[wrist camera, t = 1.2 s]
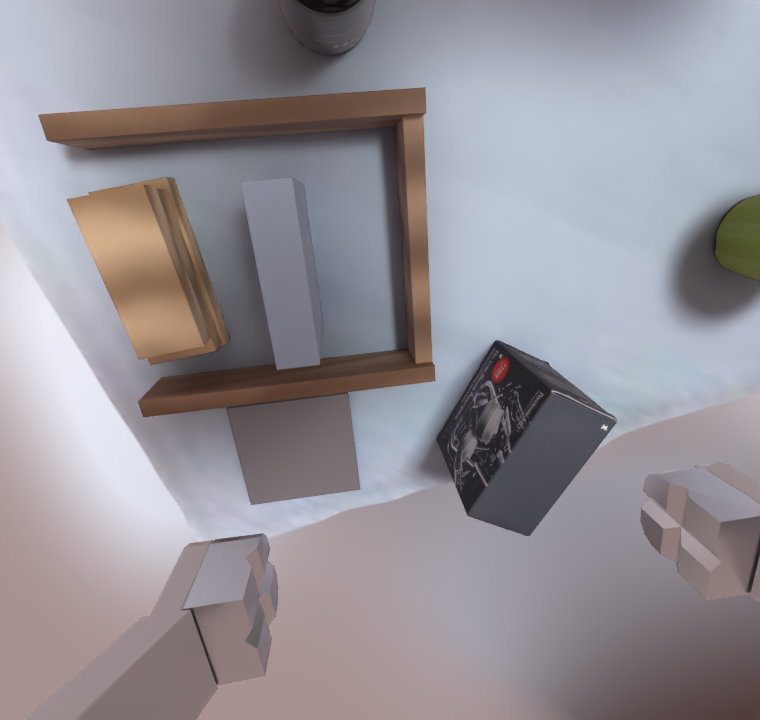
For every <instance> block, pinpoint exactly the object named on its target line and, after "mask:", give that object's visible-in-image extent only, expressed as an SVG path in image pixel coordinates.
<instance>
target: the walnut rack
mask: <svg viewBox="0 0 760 720" xmlns="http://www.w3.org/2000/svg"><path fill="white" fill-rule="evenodd" d="M425 113H426V96H425V88H411V89H397V90H383V91H368V92H354V93H340V94H326V95H311V96H297V97H283V98H269V99H254V100H240V101H226V102H212V103H197V104H183V105H169V106H155V107H140V108H126V109H112V110H98V111H83V112H69V113H55V114H41V115H38V116H39V119H40V122H41V124H42V127H43V130H44V133H45V136H46V139H47V141H50V142H55V143H60V144H65V145H69V146H74V147H79V148H83V149H88V150H93V149H106V148H119V147H132V146H145V145H158V144H171V143H184V142H197V141H210V140H223V139H236V138H249V137H262V136H275V135H288V134H301V133H314V132H327V131H340V130H353V129H366V128H379V127H392V126H395V137H396V153H397V170H398V187H399V203H400V220H401V236H402V253H403V270H404V286H405V303H406V320H407V336H408V349H401V350H393V351H384V352H376V353H367V354H359V355H350V356H342V357H333V358H325V359H320V365H314V366H305V367H297V368H288V369H280V370H277V368H276V364H274V365H265V366H257V367H248V368H240V369H231V370H222V371H214V372H205V373H197V374H188V375H180V376H171V377H163V378H161V379H160V380H159V381H158V382H157V383H156V384H155V385H154V386H153V387H152V388H151V389H150V390H149V391H148V392H147V393H146V394H145V395H144V396H143V397H142V398H141V399H140V400H139V401H138V403H139V406H140V409H141V412H142V414H143V417H149V416H157V415H166V414H174V413H182V412H190V411H198V410H206V409H214V408H222V407H230V406H238V405H246V404H254V403H262V402H270V401H279V400H287V399H295V398H303V397H311V396H319V395H327V394H335V393H343V392H351V391H359V390H367V389H375V388H383V387H392V386H400V385H408V384H416V383H424V382H432V381H435V365H434V364H433V362H432V343H431V316H430V289H429V262H428V235H427V207H426V180H425V153H424V126H423V115H424V114H425Z"/></svg>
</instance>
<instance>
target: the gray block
mask: <svg viewBox="0 0 760 720" xmlns="http://www.w3.org/2000/svg"><path fill="white" fill-rule="evenodd" d="M240 184H241V189H242V194H243V199H244V204H245V209H246V215H247V220H248V225H249V230H250V235H251V240H252V245H253V250H254V256H255V261H256V266H257V271H258V276H259V281H260V286H261V291H262V296H263V302H264V307H265V312H266V317H267V322H268V327H269V332H270V337H271V343H272V348H273V353H274V358H275V363H276V368H277V370H280V369H288V368H297V367H305V366H314V365H320V359H321V345H322V331H323V316H322V309H321V302H320V295H319V288H318V281H317V274H316V267H315V260H314V253H313V246H312V239H311V232H310V224H309V217H308V210H307V203H306V196H305V189H304V184H302V183H300V182H299V181H297V180H295V179H294V178H292V177H290V178H278V179H266V180H254V181H242V182H240Z"/></svg>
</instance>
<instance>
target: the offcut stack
mask: <svg viewBox="0 0 760 720" xmlns="http://www.w3.org/2000/svg"><path fill="white" fill-rule="evenodd" d="M67 201H68V204H69V206H70V208H71V210H72V212H73V215H74V217H75V219H76V221H77V224H78V226H79V228H80V230H81V232H82V235H83V237H84V239H85V241H86V243H87V246H88V248H89V250H90V252H91V255H92V257H93V259H94V261H95V263H96V266H97V268H98V270H99V272H100V274H101V277H102V279H103V281H104V283H105V285H106V288H107V290H108V292H109V294H110V297H111V299H112V301H113V303H114V305H115V308H116V310H117V312H118V314H119V316H120V319H121V321H122V323H123V325H124V328H125V330H126V332H127V334H128V336H129V339H130V341H131V343H132V345H133V347H134V350H135V352H136V354H137V356H138V359H139V360H140V359H145V358H148V360H149V363H150V365H153V364H158V363H162V362H167V361H172V360H176V359H181V358H186V357H190V356H195V355H200V354H205V353H209V352H214V351H216V350H217V349H218V348H219V346H223V345H226V344H227V343H228V341H229V340H230V336H229V333H228V330H227V328H226V325H225V322H224V319H223V316H222V313H221V310H220V308H219V305H218V302H217V299H216V296H215V293H214V290H213V288H212V285H211V282H210V279H209V276H208V273H207V270H206V267H205V265H204V262H203V259H202V256H201V253H200V250H199V247H198V245H197V242H196V239H195V236H194V233H193V230H192V227H191V225H190V222H189V219H188V216H187V213H186V210H185V207H184V205H183V202H182V199H181V196H180V193H179V190H178V187H177V184H176V182H175V179H174V178H167V177H166V178H160V179H155V180H150V181H145V182H140V183H135V184H130V185H125V186H120V187H115V188H110V189H104V190H99V191H94V192H89V195H87V196H82V197H77V198H72V199H67Z"/></svg>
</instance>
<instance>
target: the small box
mask: <svg viewBox="0 0 760 720" xmlns="http://www.w3.org/2000/svg"><path fill="white" fill-rule="evenodd" d="M616 423H617V419H616V418H615V417H614V416H613V415H611V414H609V413H607V412H606V411H605V410H604V409H602V408H601V407H600V406H599V405H597V404H596V403H595V402H594V401H593V400H591V399H590V398H589V397H588V396H587V395H585V394H584V393H583V392H582V391H581V390H579V389H578V388H577V387H575V386H574V385H573V384H571V383H570V382H569V381H568V380H566V379H565V378H564V377H563V376H562V375H560V374H559V373H558V372H557V371H555V370H554V369H553V368H552V367H551V366H550V365H549V363H548V362H544V361H542V360H540V359H538V358H535V357H533V356H531V355H529V354H527V353H524V352H522V351H520V350H518V349H516V348H514V347H512V346H510V345H508V344H505V343H503V342H501V341H498V340H497V341H496V342H495V343H494V345H493V346H492V348H491V350H490V351H489V353H488V355H487V356H486V358H485V360H484V361H483V363H482V365H481V366H480V368H479V370H478V371H477V373H476V374H475V376H474V378H473V379H472V381H471V383H470V384H469V386H468V388H467V389H466V391H465V393H464V394H463V396H462V398H461V399H460V401H459V403H458V404H457V406H456V408H455V409H454V411H453V413H452V414H451V416H450V418H449V419H448V421H447V423H446V424H445V426H444V428H443V429H442V431H441V432H440V434H439V436H438V437H437V442H438V444H439V447H440V449H441V451H442V454H443V456H444V459H445V461H446V464H447V466H448V468H449V471H450V473H451V476H452V478H453V481H454V483H455V486H456V488H457V491H458V493H459V496H460V498H461V500H462V503H463V505H464V508H465V510H466V513H467V515H468V516H470V517H473V518H475V519H478V520H481V521H484V522H487V523H490V524H493V525H496V526H499V527H502V528H505V529H507V530H511V531H514V532H517V533H520V534H523V535H526V536H530V535H531V533H532V532H533V531H534V530H535V528H536V527H537V526H538V524H539V523H540V522H541V520H542V519H543V518H544V516H545V515H546V514H547V513H548V511H549V510H550V509H551V507H552V506H553V505H554V503H555V502H556V501H557V499H558V498H559V497H560V495H561V494H562V493H563V492H564V490H565V489H566V488H567V486H568V485H569V484H570V483H571V481H572V480H573V478H574V477H575V476H576V475H577V473H578V472H579V471H580V469H581V468H582V467H583V466H584V464H585V463H586V461H587V460H588V459H589V458H590V456H591V455H592V454H593V453H594V451H595V450H596V449H597V447H598V446H599V445H600V443H601V442H602V441H603V439H604V438H605V437H606V436H607V434H608V433H609V432H610V430H611V429H612V428H613V426H614V425H615V424H616Z"/></svg>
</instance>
